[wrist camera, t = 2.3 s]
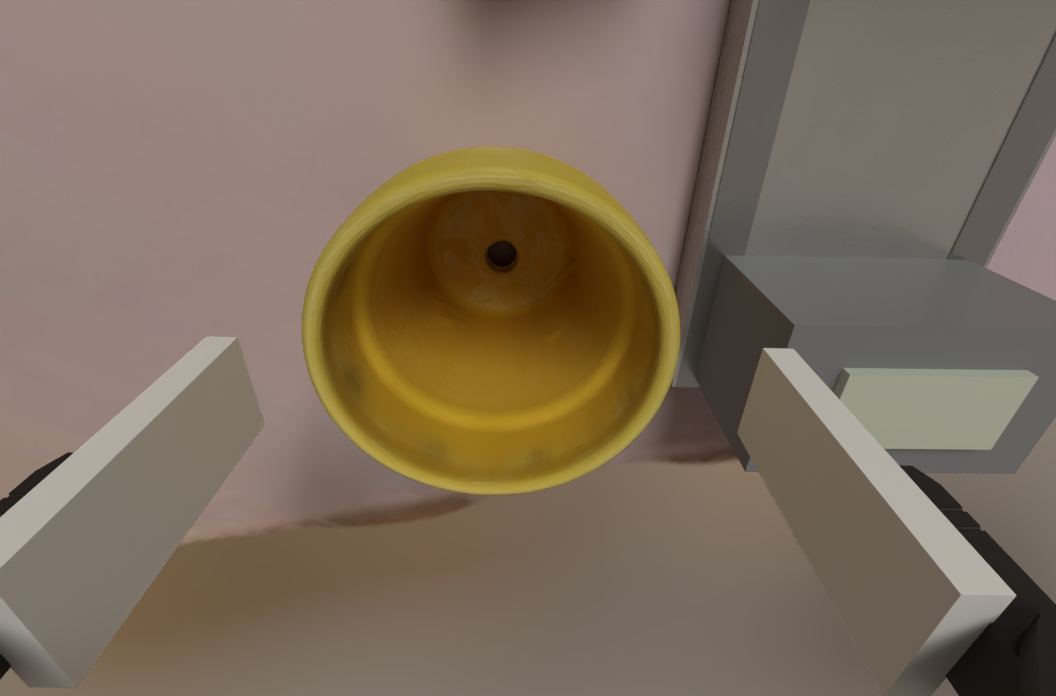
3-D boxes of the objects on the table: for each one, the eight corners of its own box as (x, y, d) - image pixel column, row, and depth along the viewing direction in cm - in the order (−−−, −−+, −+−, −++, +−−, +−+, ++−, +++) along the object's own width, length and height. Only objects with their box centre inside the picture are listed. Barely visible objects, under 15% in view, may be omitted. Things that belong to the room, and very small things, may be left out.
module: (695, 378, 23) (749, 479, 18) (724, 254, 20) (801, 331, 15) (906, 380, 23) (1024, 481, 18) (966, 259, 20) (1132, 336, 15)
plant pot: (649, 300, 23) (722, 441, 15) (453, 375, 25) (420, 535, 17) (570, 67, 18) (612, 82, 10) (334, 183, 20) (205, 275, 12)
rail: (661, 363, 25) (672, 387, 23) (838, -561, 12) (894, -668, 10) (895, 366, 25) (923, 390, 24) (1324, -532, 12) (1462, -632, 10)
